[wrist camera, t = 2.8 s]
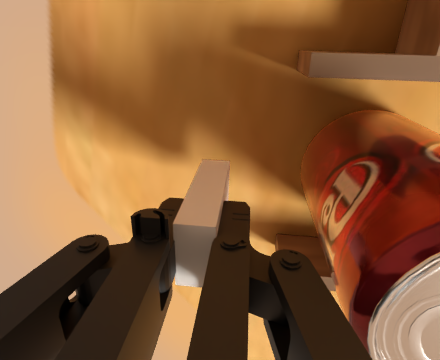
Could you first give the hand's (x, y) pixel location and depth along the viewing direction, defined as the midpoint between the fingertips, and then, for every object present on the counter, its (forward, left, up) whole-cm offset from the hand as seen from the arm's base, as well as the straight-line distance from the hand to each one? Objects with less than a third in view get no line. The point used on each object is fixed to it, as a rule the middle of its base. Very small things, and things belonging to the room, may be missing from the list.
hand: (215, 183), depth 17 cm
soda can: (0, +9, -3) cm, 9 cm away
